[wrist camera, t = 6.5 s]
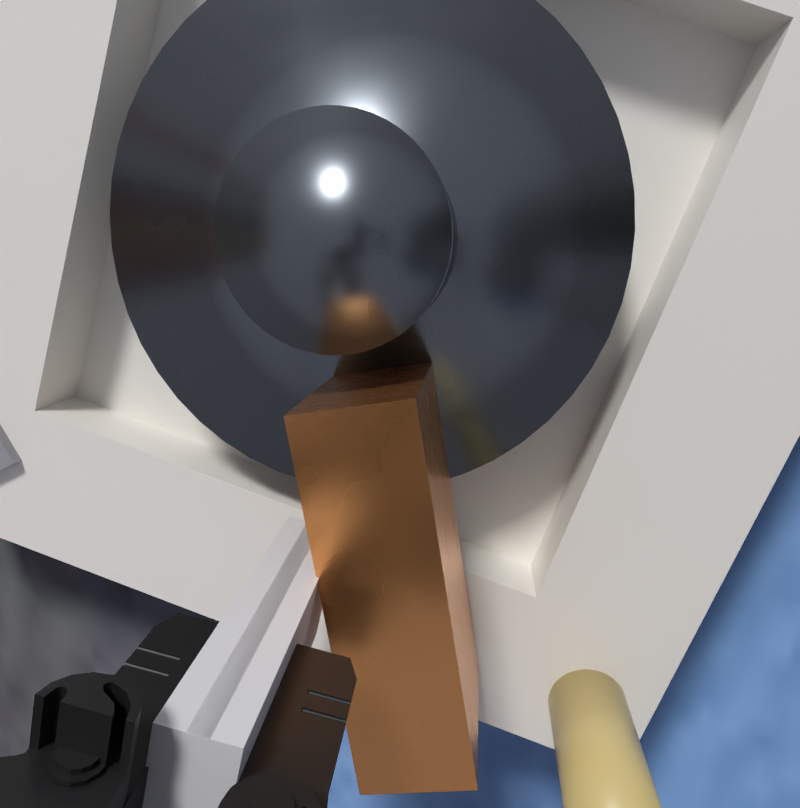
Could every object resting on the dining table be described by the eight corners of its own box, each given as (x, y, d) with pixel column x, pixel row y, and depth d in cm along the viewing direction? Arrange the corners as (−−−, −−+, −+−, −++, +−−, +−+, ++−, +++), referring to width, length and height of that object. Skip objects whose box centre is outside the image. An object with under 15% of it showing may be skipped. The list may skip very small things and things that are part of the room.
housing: (957, -50, 16) (1522, -414, 7) (596, 684, 21) (675, 973, 13) (119, -320, 17) (-264, -929, 8) (-21, 452, 22) (-337, 575, 14)
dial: (102, 39, 16) (-107, -81, 11) (590, -77, 15) (663, -299, 9) (242, 642, 20) (143, 803, 14) (652, 610, 18) (734, 779, 12)
